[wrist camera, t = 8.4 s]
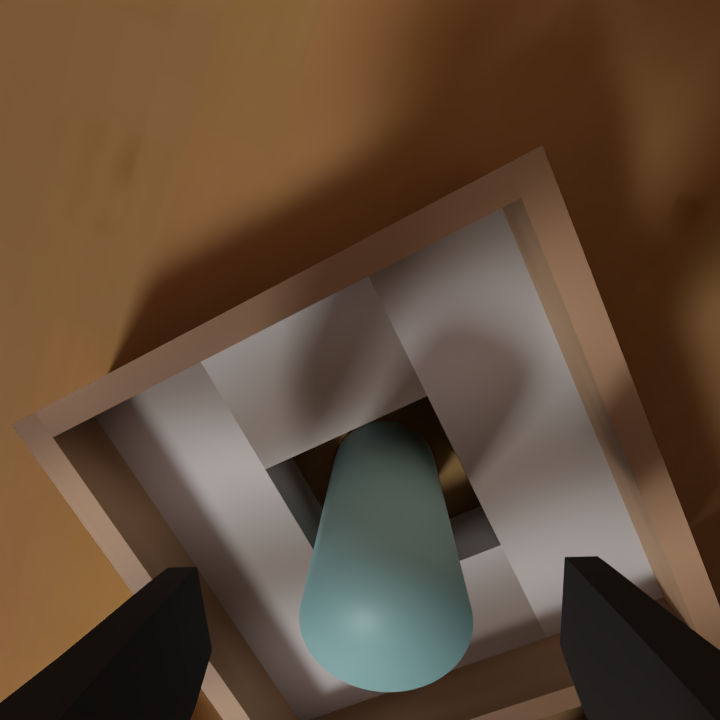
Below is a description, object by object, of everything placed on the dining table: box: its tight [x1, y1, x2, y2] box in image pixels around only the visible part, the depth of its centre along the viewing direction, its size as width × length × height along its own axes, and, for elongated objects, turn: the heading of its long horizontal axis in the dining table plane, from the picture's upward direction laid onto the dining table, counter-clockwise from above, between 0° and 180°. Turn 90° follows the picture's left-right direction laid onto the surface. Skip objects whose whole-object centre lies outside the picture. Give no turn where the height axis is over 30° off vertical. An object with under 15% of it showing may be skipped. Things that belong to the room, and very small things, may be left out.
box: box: [12, 145, 720, 720], centre depth 12 cm, size 13×13×4 cm
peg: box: [299, 421, 473, 692], centre depth 11 cm, size 3×3×6 cm
